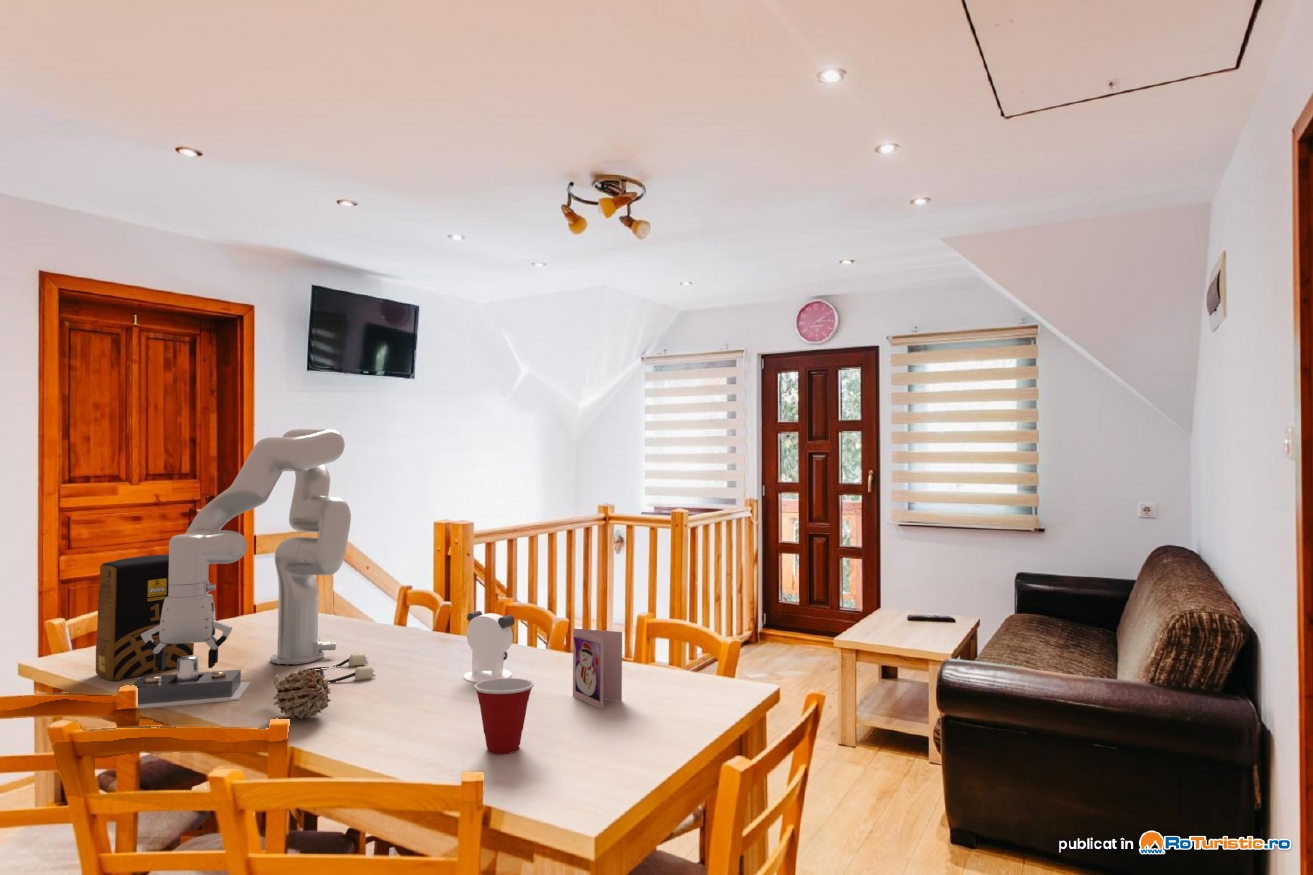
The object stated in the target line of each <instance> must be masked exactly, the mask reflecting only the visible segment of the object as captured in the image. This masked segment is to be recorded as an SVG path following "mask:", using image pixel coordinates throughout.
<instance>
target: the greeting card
mask: <svg viewBox="0 0 1313 875" xmlns="http://www.w3.org/2000/svg"><path fill="white" fill-rule="evenodd" d="M572 630H573V632H572V633H573V636H572V638H573V639H572V640H573V642H572V645H573V647H572V648H573V649H572V652H573V653H572V697H573V698H575V699H578V700H581V701H582V702H585V703H586V704H589V705H591V706H594V707H596V708H597V709H601V710H603V711H604V700H606V701H608V700H609V701H610V700H611V701H617V702H622V700H623V698H622V697H623V696H622V694H623V688H622V687H623V686H622V685H623V632H622V631H615V630H614V631H613V630H599V629H587V628H586V629H585V628H573V629H572Z"/></svg>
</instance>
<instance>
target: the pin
mask: <svg viewBox="0 0 1313 875" xmlns="http://www.w3.org/2000/svg"><path fill="white" fill-rule="evenodd" d="M198 673H199V656H198V655H194V654H193V655H190V656H183V657H180V658H178V659H177V668H176V674H177V683H181V682H194V681H198Z"/></svg>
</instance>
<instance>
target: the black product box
mask: <svg viewBox="0 0 1313 875" xmlns="http://www.w3.org/2000/svg"><path fill="white" fill-rule="evenodd" d="M168 576H169V553H167V554H153V555H152V554H151V555H144V556H143V555H141V556H135V557H127V558H121V559H116V560H113V561H108V562H103V563H102V564H101V565H100V567H99V585H98V586H99V587H98V595H97V625H96V626H97V627H96V640H95V641H96V642H95V673H96V675H97V676H99V677H100V678H101V677H102V678H104V679H107V680H110V681H113V682H115V681H121V680H125V679H126V680H127V679H131V678H136V677H142V676H145V675H151V674H155V672H156V673H159V672H158V667H155V653H153V651H152V650H151V649H150V648H149V647H147V646H146V643H145V642H144V640H143V638H142V637H141V634H142V633H144V632H145V631H147V630H149V629H151V628H153V627H155V626H157V625H159V624H160V620H161V613H162V608H163V603H164V600H165V598H166V597H168V584H169V583H168ZM152 639H153V640H154V641H156V642H157V643H158V644H159V643H160V640H159V631H158V632H156V633H154V634H152ZM194 647H195V643H182V644H167V645H166V646H165V647H164V650H165V651H166V668H165V669H164V670H163V671H168V670H173V669H177V659H178V658H180V657H183V656H190V655H194V653H195V652H194V650H195V648H194ZM163 671H162V672H163Z"/></svg>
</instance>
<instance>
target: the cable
mask: <svg viewBox="0 0 1313 875" xmlns="http://www.w3.org/2000/svg"><path fill="white" fill-rule="evenodd" d="M368 659H369V657H368V656H366V653H352V654H350V655H349V658H347V659H345V660H343V661H342V662H339V663H338V664H336V665H333V666H332V667H335V666H336V667H337V666H340V667H342V666H343V665H345V664H347V663H348V665H349V667H356V669H355V670H354V672H352V673H350V674H347V675H344V676H341V677H337V678H334V679H328V680H329V681H328V682H334V683H336V681H338V682H341V681H344V680H347V679H349V678H353V677H354V679H355V681H357V680H358V681H365V680H364V679H367V680H372V679H371V678H374V677H375V678H376V674H375V673H374V672H376V670H375V669H374V668H373V666H365V664H369V660H368ZM355 665H363V666H355ZM329 667H330V666H318V667H317V666H316V667H309V668H306V669H303V670H302V672H305V671H306V670H312V669H321V668H329ZM337 668H338V667H337ZM316 672H320V675H321V676H323V675H324V672H325V671H324V670H316Z"/></svg>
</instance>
